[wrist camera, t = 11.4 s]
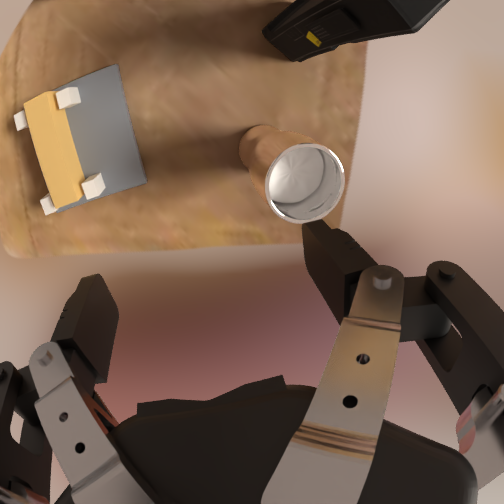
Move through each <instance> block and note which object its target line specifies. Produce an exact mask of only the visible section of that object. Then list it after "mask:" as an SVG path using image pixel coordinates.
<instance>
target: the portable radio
mask: <svg viewBox="0 0 504 504" xmlns="http://www.w3.org/2000/svg"><path fill="white" fill-rule="evenodd" d="M449 1H450V0H296V1H295V2H293V3H292V4H291V5H290V6H289V7H287V8H286V9H285V10H284V11H283V12H282V13H280V14H279V15H278V16H277V17H276V18H275V19H274V20H272V21H271V22H270V23H269V24H268V25H267V26H266V27H265V28H264V29H263V30H262V33H263V34H264V36H265V38H266V39H267V40H268V41H269V42H270V43H271V44H273V45H274V46H275V47H276V48H277V49H279V50H280V51H281V52H282V53H283V54H284V55H285V56H287V57H288V58H289V59H290V60H291V61H293V62H295V61H298V62H302V61H304V60H306V59H308V58H311V57H314V56H316V55H319V54H323V53H326V52H329V51H333V50H335V49H336V48H337V47H338V46H339V45H343V44H346V43H350V42H351V43H358V42H363V41H368V40H373V39H378V38H384V37H390V36H397V35H404V34H411V33H415V32H417V31H419V30H420V29H421V28H422V27H423V26H424V25H425V24H426V23H427V22H428V21H429V20H430V19H431V18H432V17H433V16H434V15H435V14H436V13H437V12H438V11H439V10H440V9H441V8H442V7H443V6H444V5H446V3H448V2H449Z"/></svg>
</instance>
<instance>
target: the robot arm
mask: <svg viewBox="0 0 504 504" xmlns="http://www.w3.org/2000/svg"><path fill="white" fill-rule="evenodd" d="M302 236H303V247H304V258H305V264H306V267H307V270H308V272H309V275H310V276H311V278H312V279H313V281H314V283H315V284H316V286H317V288H318V289H319V291H320V293H321V294H322V296H323V298H324V299H325V301H326V303H327V305H328V306H329V308H330V310H331V311H332V313H333V315H334V316H335V318H336V320H337V321H338V323H339V325H340V329H339V332H338V335H337V338H336V340H335V343H334V346H333V349H332V352H331V354H330V357H329V360H328V362H327V365H326V367H325V370H324V372H323V375H322V378H321V380H320V382H319V385H318V388H315V387H311V386H305V385H286V384H285V381H284V378H283V375H280V376H276V377H272V378H269V379H264V380H261V381H257V382H252V383H248V384H245V385H243V386H240V387H238V388H236V389H234V390H232V391H230V392H227V393H225V394H223V395H220V396H218V397H216V398H214V399H211V400H207V401H196V400H180V399H166V400H160V401H152V402H144V403H138V404H137V414H136V415H134V416H132V417H130V418H128V419H126V420H124V421H123V422H121V423H120V424H119V423H118V422H117V420H116V419H115V417H114V416H113V415H112V413H111V412H110V410H109V409H108V408H107V406H106V405H105V403H104V402H103V400H102V399H101V397H100V396H99V394H98V393H97V392H96V391H95V390H94V386H95V384H98V383H106V382H107V377H108V371H109V365H110V359H111V354H112V349H113V344H114V339H115V333H116V329H117V324H118V320H119V312H118V308H117V305H116V303H115V301H114V299H113V297H112V295H111V293H110V291H109V290H108V287H107V285H106V283H105V281H104V279H103V278H102V276H101V275H100V274H94V275H91V276H87V277H83V278H82V279H81V280H80V282H79V284H78V287H77V289H76V291H75V292H74V293H73V294H72V296H71V297H70V298H69V299H68V301H67V302H66V304H65V307H64V309H63V312H62V313H61V316H60V319H59V321H58V323H57V325H56V328H55V331H54V333H53V336H52V338H51V341H50V342H47V343H44V344H42V345H41V346H39V347H38V348H37V349H36V350H35V351H34V352H33V354H32V355H31V357H30V360H29V365H28V366H26V367H24V368H21V369H19V370H17V369H16V368H15V367H14V366H13V364H12V363H11V362H8V361H5V362H2V363H0V504H50V476H51V462H52V451H53V452H54V454H55V456H56V458H57V460H58V462H59V464H60V466H61V468H62V470H63V472H64V474H65V476H66V477H67V479H68V481H69V483H70V484H69V485H68V487H67V488H66V489H65V490H64V492H63V493H62V494H61V496H60V497H59V498H58V500H57V501H56V502H55V503H54V504H477V495H478V490H479V489H481V488H482V487H484V486H485V485H486V484H488V483H489V482H491V481H492V480H493V479H495V478H496V477H497V476H499V475H500V474H501V473H503V472H504V312H503V310H502V309H500V307H499V306H498V305H497V304H496V303H495V302H494V301H493V300H492V298H490V296H489V295H488V294H487V293H486V292H485V291H484V290H483V289H482V288H481V287H480V286H479V285H478V284H477V283H476V282H475V281H474V280H473V279H472V278H471V277H470V276H469V275H468V274H467V273H466V272H465V271H464V270H463V269H462V268H461V267H459V266H458V265H456V264H454V263H452V262H448V261H436V262H433V263H432V264H430V265H429V266H428V268H427V272H426V276H419V277H404V276H403V274H402V273H401V272H400V271H399V270H397V269H396V268H393V267H391V266H386V265H378V264H377V263H376V262H375V261H374V260H373V258H371V257H370V255H369V254H368V253H367V252H366V251H365V250H364V249H363V248H362V247H360V245H359V244H358V243H357V242H355V240H354V239H353V238H352V237H351V236H350V235H349V234H348V233H347V232H344V231H342V230H340V229H338V228H336V229H331V228H330V227H329V226H328V225H327V224H326V223H325V222H324V221H323V220H322V219H319V220H314V221H310V222H306V223H303V224H302ZM452 323H453V324H454V326H455V327H456V328H457V329H458V331H459V332H460V334H461V336H462V338H461V336H460V335H459V334H458V332H457V331H456V330H455V329H454V327H453V326H452V325H451V324H452ZM406 341H416V343H417V345H418V346H419V348H420V349H421V351H422V353H423V354H424V356H425V357H426V359H427V360H428V362H429V364H430V365H431V367H432V369H433V370H434V372H435V373H436V375H437V377H438V378H439V380H440V382H441V383H442V385H443V387H444V388H445V390H446V392H447V394H448V395H449V397H450V399H451V401H452V402H453V404H454V406H455V408H456V409H457V411H458V413H459V415H460V417H459V419H458V421H457V424H456V434H457V437H458V443H459V452H458V451H457V450H455V449H453V448H450V447H448V446H445V445H443V444H440V443H438V442H435V441H433V440H430V439H428V438H426V437H423V436H421V435H418V434H416V433H414V432H411V431H409V430H407V429H405V428H402V427H400V426H398V425H396V424H394V423H391V422H389V421H386V420H385V419H383V418H384V414H385V410H386V406H387V402H388V397H389V393H390V388H391V383H392V379H393V374H394V368H395V363H396V357H397V351H398V345H399V342H406ZM14 411H15V412H16V413H17V414H18V415H19V416H21V417H22V418H23V419H24V422H23V427H22V432H21V438H20V444H18V443H17V442H16V441H15V440H14V439H13V438H12V436H11V433H10V425H11V421H12V416H13V412H14Z"/></svg>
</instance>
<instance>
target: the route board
mask: <svg viewBox="0 0 504 504" xmlns="http://www.w3.org/2000/svg"><path fill="white" fill-rule="evenodd" d="M53 91H59V92H57V93H56V96H57V101H58V105H59V109H64V108H65V112H66V116H67V120H68V124H69V127H70V131H71V135H72V138H73V142H74V145H75V149H76V152H77V155H78V158H79V162H80V165H81V168H82V171H83V174H84V177H85V181H84V182H83V183H82V187H83V190H84V193H85V194H84V195H83V196H82V197H81V198H80V199H79V200H78V201H76V202H73V203H71V204H68V205H65V206H63V207H60V208H57V209H56V208H55V205H54V203H53V200H52V198H51V195H50V192H49V193H48V194H47V195H46V196H44V197H43V198H42V199H41V200H40V202H41V205H42V207H43V210H44V212H45V215H48V214H50V213H53V212H55V211H56V212H57V213H59V212H61V211H64V210H67V209H69V208H72V207H75V206H78V205H81V204H83V203H86V202H89V201H92V200H95V199H98V198H101V197H104V196H107V195H110V194H113V193H116V192H120V191H123V190H126V189H129V188H132V187H136V186H139V185H142V184H146V183H147V177H146V174H145V170H144V167H143V164H142V160H141V156H140V153H139V149H138V145H137V142H136V138H135V134H134V130H133V126H132V122H131V119H130V114H129V110H128V106H127V102H126V98H125V93H124V89H123V84H122V80H121V75H120V70H119V66H118V64H114V65H112V66H109V67H106V68H104V69H101V70H98V71H96V72H93V73H91V74H88V75H86V76H84V77H81V78H79V79H77V80H74V81H72V82H70V83H68V84H65V85H63V86H61V87H59V88H57V89H55V90H53ZM14 119H15V123H16V127H17V131H19V130H22V129H25V128H28V127H29V125H28V121H27V117H26V113H25V108H24V110H23V111H21V112H19V113H17V114H16V115H14ZM29 131H30V129H29ZM30 135H31V133H30ZM31 138H32V136H31ZM32 142H33V140H32ZM33 145H34V143H33ZM34 149H35V147H34ZM35 152H36V150H35ZM36 155H37V154H36ZM37 159H38V157H37ZM38 162H39V160H38ZM39 165H40V163H39ZM40 168H41V166H40ZM41 171H42V169H41ZM42 174H43V172H42ZM43 177H44V175H43ZM44 180H45V178H44ZM45 183H46V181H45ZM46 186H47V184H46ZM47 188H48V187H47ZM48 191H49V189H48Z"/></svg>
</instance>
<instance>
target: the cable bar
mask: <svg viewBox="0 0 504 504" xmlns="http://www.w3.org/2000/svg"><path fill="white" fill-rule="evenodd" d="M57 92H59V91H49V92H45V93H43V94H41V95H39V96H37V97H35V98H33V99H31V100H30V101H28V102H26V103H24V108H25V113H26V117H27V121H28V125H29V129H30V133H31V136H32V140H33V143H34V147H35V150H36V154H37V157H38V160H39V163H40V166H41V169H42V172H43V175H44V178H45V181H46V184H47V187H48V189H49V192H50V195H51V198H52V200H53V203H54V205H55V208H56V209H57V208H60V207H63V206H65V205H68V204H71V203H73V202H76V201H78V200H79V199H80V198H81V197H82V196H83V195H84V194H85V193H84V190H83V187H82V183H83V182H84V181H85V177H84V174H83V171H82V168H81V165H80V162H79V158H78V155H77V152H76V149H75V145H74V142H73V138H72V135H71V131H70V127H69V124H68V120H67V116H66V112H65V108H64V109H59V105H58V101H57V96H56V93H57Z"/></svg>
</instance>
